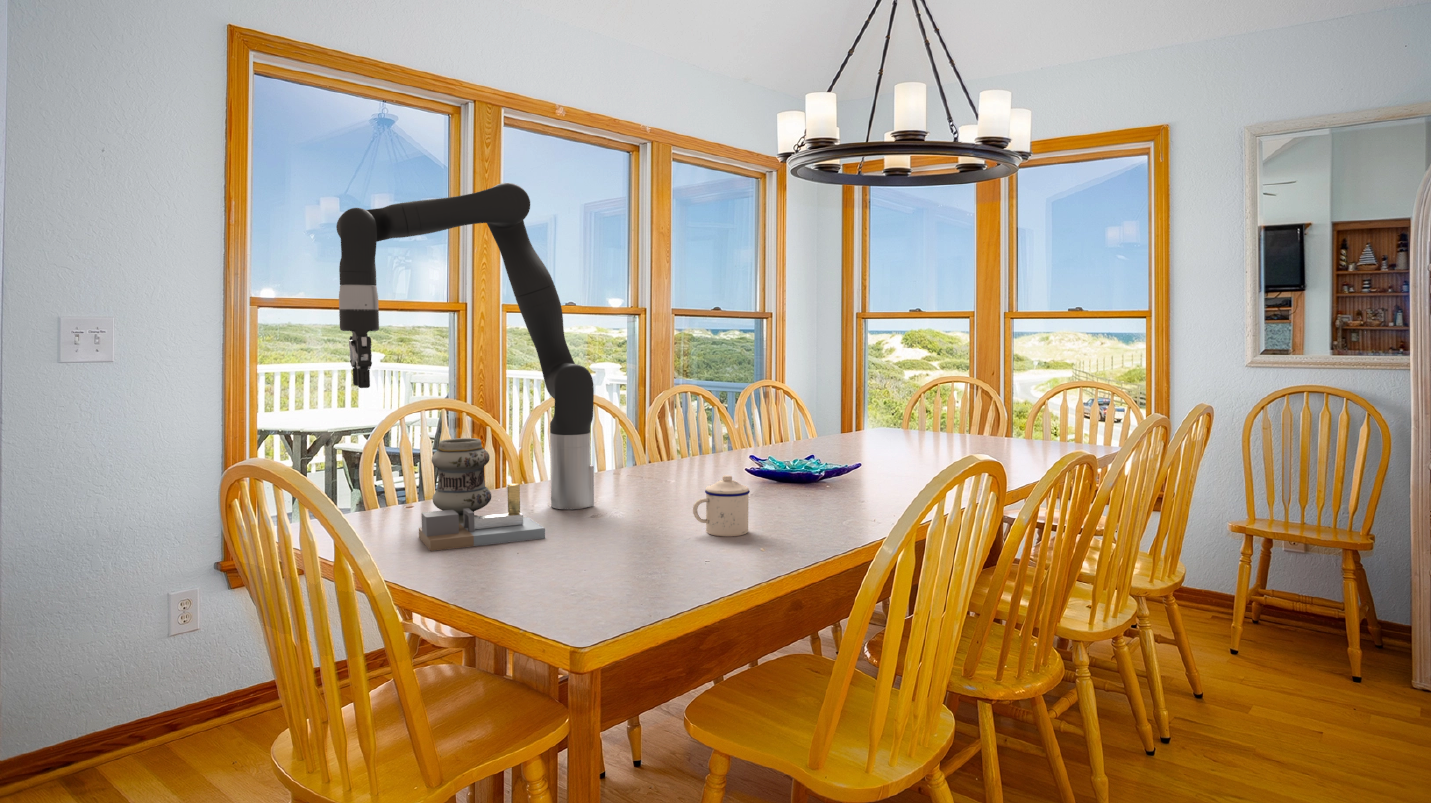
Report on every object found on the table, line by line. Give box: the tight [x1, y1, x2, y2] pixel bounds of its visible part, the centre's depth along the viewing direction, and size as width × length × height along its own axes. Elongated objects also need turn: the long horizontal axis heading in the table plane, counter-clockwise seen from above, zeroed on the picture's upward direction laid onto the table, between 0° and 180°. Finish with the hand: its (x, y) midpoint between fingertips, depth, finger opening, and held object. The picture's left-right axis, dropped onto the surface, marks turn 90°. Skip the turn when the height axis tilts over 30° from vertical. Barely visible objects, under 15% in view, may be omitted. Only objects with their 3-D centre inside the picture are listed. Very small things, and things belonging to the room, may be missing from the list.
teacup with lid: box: [692, 474, 750, 538], centre depth 181 cm, size 12×9×12 cm
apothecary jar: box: [431, 437, 492, 524], centre depth 189 cm, size 12×12×18 cm
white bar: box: [474, 483, 524, 529], centre depth 178 cm, size 10×2×8 cm, turn 118°
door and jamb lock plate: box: [418, 508, 546, 552], centre depth 177 cm, size 22×12×6 cm, turn 118°
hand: (361, 386), depth 185 cm, fingers open, 8 cm apart
